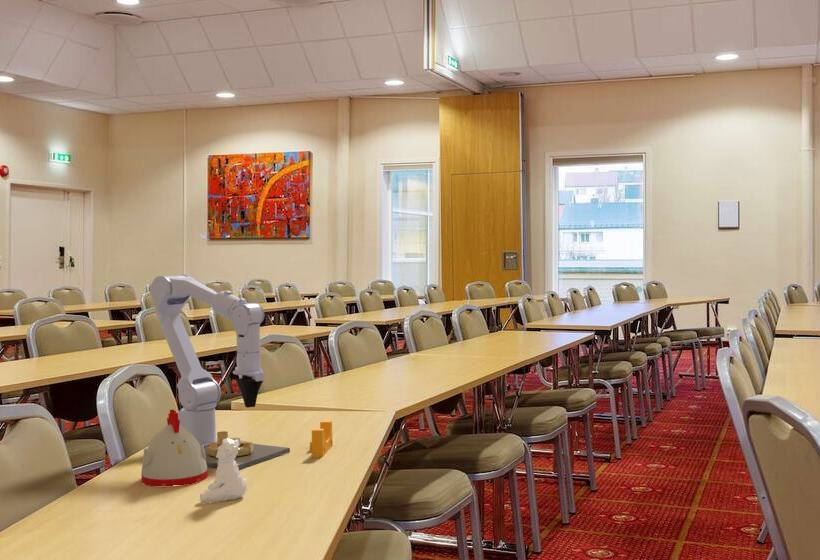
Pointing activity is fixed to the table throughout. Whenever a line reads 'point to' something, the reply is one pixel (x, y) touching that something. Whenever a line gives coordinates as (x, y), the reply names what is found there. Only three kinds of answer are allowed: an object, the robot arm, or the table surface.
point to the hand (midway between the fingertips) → (250, 406)
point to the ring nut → (213, 446)
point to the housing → (250, 455)
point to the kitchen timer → (174, 457)
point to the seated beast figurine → (225, 475)
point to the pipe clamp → (321, 439)
